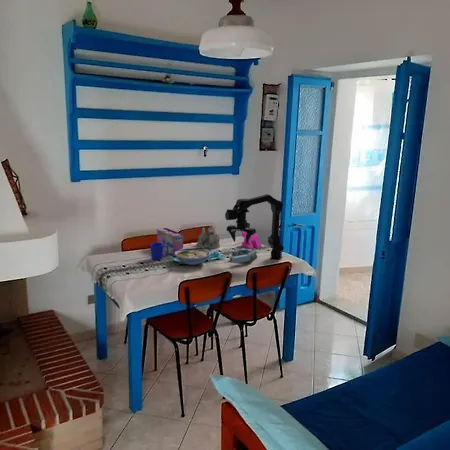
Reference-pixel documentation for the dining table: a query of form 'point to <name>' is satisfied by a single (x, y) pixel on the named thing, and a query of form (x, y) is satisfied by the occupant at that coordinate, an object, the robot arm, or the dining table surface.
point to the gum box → (170, 239)
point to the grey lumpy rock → (209, 238)
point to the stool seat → (243, 252)
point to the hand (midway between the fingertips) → (240, 242)
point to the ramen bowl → (192, 255)
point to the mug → (157, 251)
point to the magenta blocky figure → (251, 241)
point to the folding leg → (241, 258)
